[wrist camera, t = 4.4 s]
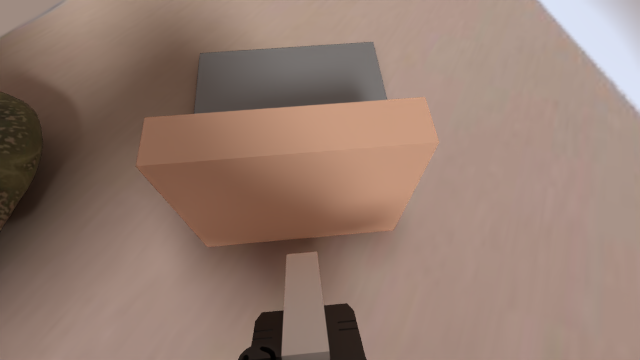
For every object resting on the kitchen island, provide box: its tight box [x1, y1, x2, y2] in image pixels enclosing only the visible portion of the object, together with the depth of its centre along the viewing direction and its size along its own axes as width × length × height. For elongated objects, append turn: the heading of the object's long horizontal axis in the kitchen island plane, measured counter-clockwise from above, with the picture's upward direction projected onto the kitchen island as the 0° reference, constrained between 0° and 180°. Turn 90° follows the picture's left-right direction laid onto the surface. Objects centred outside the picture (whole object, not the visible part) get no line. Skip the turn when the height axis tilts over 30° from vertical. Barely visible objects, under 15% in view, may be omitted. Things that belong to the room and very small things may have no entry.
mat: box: [194, 42, 387, 114], centre depth 27 cm, size 14×15×1 cm
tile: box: [136, 97, 439, 247], centre depth 19 cm, size 2×12×10 cm, turn 96°
